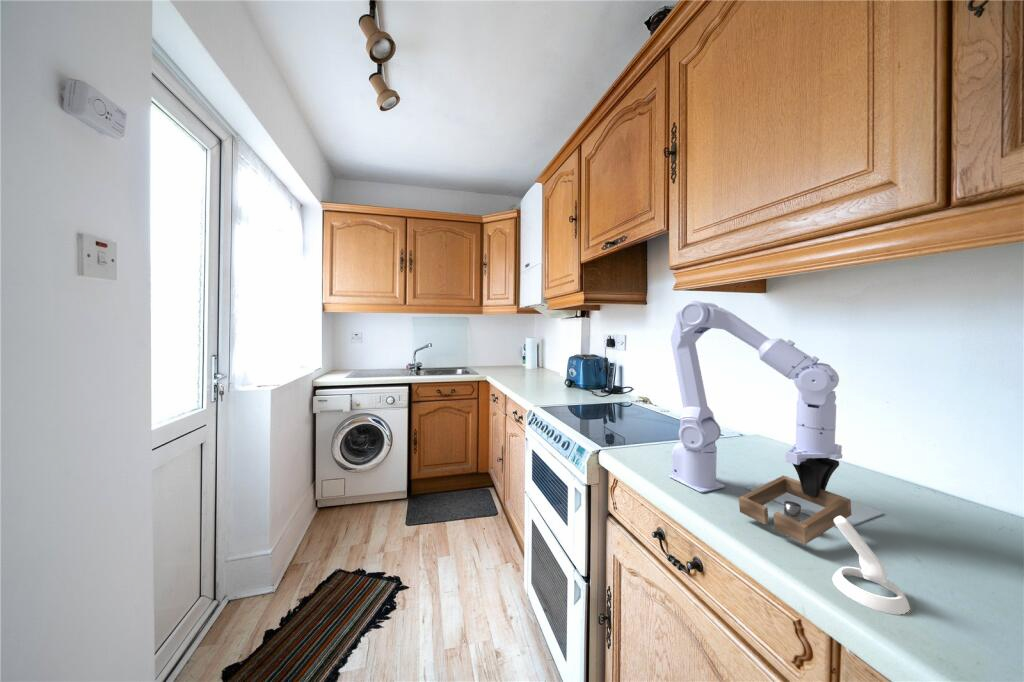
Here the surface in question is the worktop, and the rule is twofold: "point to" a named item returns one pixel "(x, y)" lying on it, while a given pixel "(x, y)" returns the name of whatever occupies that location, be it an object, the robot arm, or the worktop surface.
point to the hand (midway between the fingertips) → (812, 494)
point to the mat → (857, 510)
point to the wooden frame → (797, 530)
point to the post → (792, 510)
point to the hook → (867, 576)
